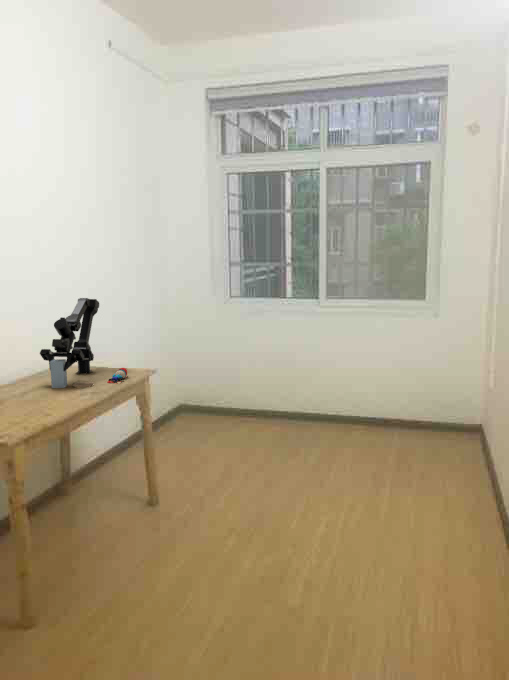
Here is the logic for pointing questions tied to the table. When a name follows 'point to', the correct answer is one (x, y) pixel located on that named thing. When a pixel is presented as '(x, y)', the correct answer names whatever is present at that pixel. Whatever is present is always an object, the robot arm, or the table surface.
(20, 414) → the table surface
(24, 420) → the table surface
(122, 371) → the toy figure
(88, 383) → the coaster
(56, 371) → the pale blue box
